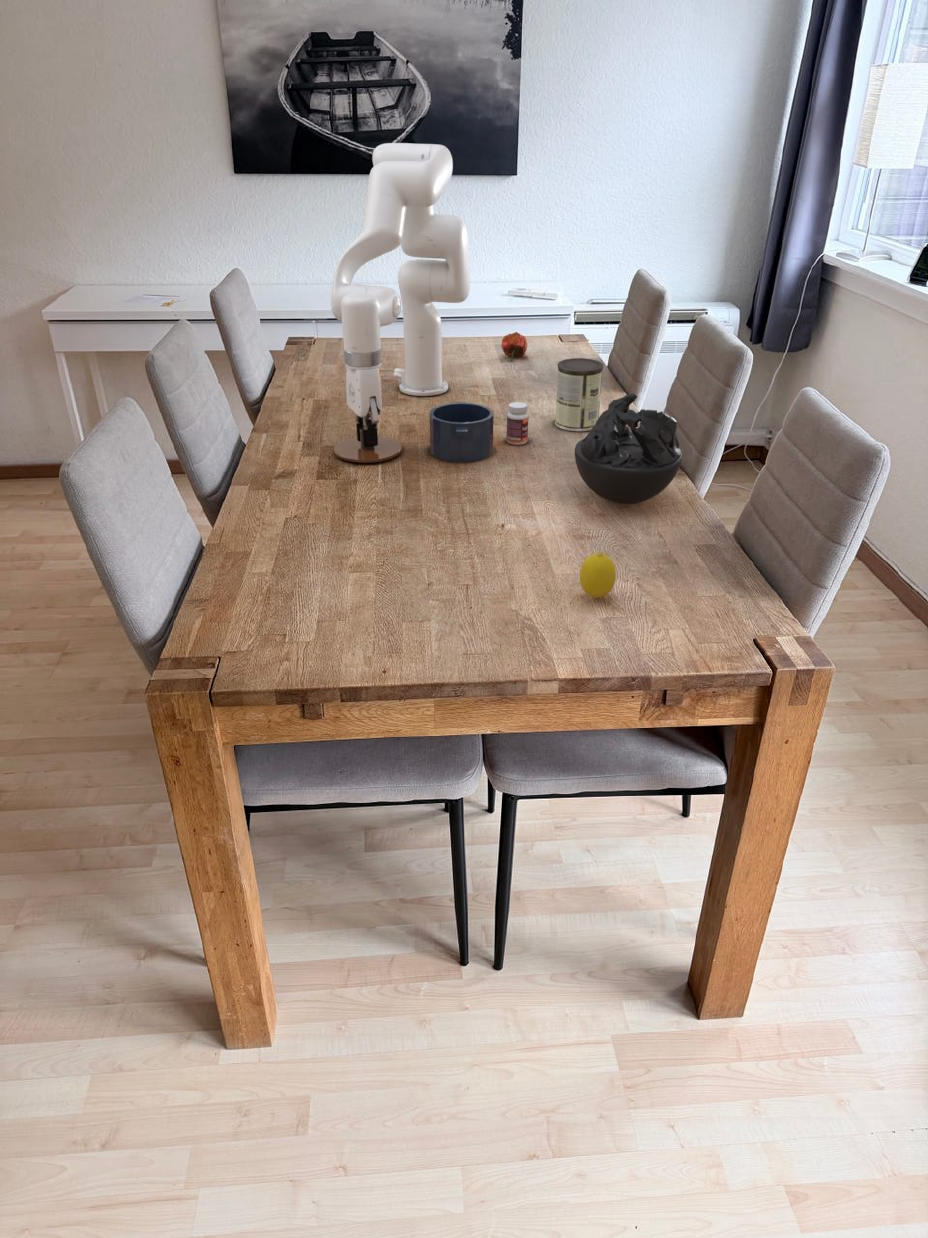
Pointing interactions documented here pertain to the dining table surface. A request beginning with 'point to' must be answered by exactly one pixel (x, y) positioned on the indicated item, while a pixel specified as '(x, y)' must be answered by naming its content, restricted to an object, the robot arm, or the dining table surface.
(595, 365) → the coffee can
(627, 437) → the coal bowl
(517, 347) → the pomegranate
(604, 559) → the lemon
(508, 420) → the pill bottle
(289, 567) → the dining table surface
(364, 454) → the lid
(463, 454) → the pot
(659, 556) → the dining table surface
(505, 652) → the dining table surface
